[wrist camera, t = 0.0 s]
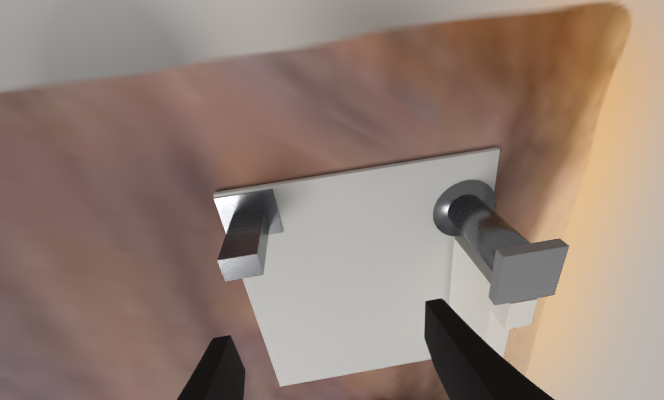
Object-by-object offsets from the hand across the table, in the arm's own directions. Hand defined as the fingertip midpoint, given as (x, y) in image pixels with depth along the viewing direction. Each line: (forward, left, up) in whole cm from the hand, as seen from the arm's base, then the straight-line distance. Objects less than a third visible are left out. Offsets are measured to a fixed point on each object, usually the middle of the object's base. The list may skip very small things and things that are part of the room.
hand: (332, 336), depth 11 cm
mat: (-8, -3, -10) cm, 13 cm away
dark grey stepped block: (0, +4, -10) cm, 11 cm away
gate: (-9, -10, -9) cm, 16 cm away
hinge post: (-2, -10, -10) cm, 14 cm away
